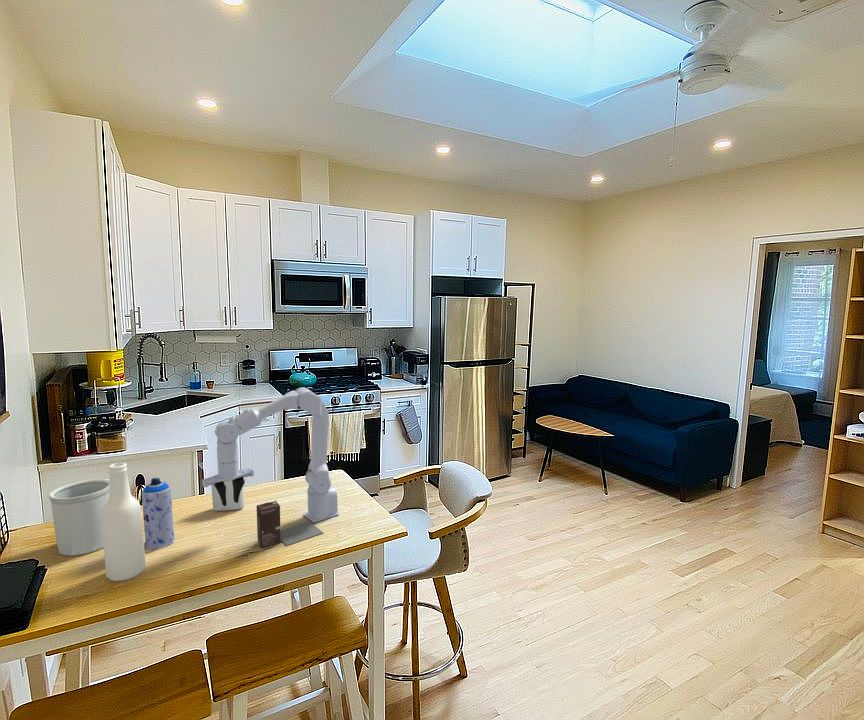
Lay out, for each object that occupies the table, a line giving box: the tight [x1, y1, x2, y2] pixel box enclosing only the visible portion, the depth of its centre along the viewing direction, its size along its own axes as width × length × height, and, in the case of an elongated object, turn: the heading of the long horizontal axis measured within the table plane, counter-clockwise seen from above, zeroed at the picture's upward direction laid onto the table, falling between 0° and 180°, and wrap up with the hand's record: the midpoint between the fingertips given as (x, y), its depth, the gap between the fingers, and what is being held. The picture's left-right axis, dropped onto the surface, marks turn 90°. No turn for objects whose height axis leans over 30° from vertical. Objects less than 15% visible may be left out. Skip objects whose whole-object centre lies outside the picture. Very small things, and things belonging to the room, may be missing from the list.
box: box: [256, 500, 282, 549], centre depth 139 cm, size 6×4×12 cm
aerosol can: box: [141, 477, 176, 550], centre depth 139 cm, size 8×8×20 cm
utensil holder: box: [48, 478, 109, 557], centre depth 138 cm, size 15×15×18 cm
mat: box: [280, 520, 324, 547], centre depth 146 cm, size 12×10×1 cm
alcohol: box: [101, 462, 146, 582], centre depth 123 cm, size 9×9×30 cm
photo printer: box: [210, 480, 245, 512], centre depth 162 cm, size 10×4×12 cm, turn 99°
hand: (230, 503), depth 143 cm, fingers open, 3 cm apart
